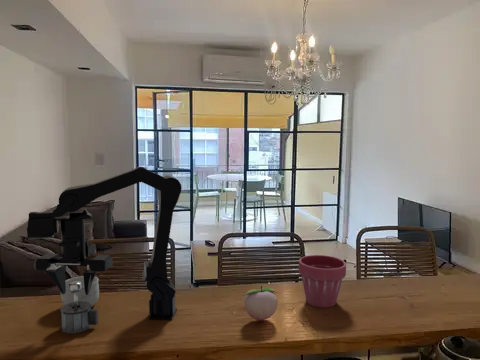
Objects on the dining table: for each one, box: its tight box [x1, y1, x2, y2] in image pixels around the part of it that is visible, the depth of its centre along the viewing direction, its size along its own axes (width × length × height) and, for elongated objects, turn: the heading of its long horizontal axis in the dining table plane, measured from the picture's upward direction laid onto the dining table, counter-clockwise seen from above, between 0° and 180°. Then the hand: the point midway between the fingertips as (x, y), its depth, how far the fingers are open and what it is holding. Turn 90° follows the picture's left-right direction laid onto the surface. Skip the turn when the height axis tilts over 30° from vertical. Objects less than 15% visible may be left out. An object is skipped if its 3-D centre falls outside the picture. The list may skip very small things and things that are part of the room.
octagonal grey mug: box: [59, 301, 99, 334], centre depth 105 cm, size 9×7×6 cm
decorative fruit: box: [243, 285, 279, 322], centre depth 108 cm, size 9×8×10 cm
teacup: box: [59, 275, 100, 307], centre depth 120 cm, size 14×11×8 cm
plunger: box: [69, 281, 82, 309], centre depth 105 cm, size 5×5×8 cm
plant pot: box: [298, 254, 347, 308], centre depth 122 cm, size 14×14×13 cm
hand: (75, 294), depth 105 cm, fingers open, 6 cm apart
